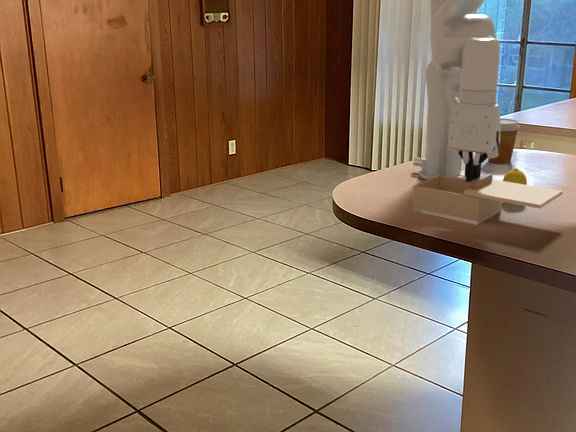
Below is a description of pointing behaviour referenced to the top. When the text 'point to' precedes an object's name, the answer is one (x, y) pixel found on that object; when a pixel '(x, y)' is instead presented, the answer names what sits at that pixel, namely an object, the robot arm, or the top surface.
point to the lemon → (515, 177)
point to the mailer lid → (511, 192)
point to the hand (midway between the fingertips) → (472, 180)
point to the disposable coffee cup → (506, 141)
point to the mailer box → (452, 200)
